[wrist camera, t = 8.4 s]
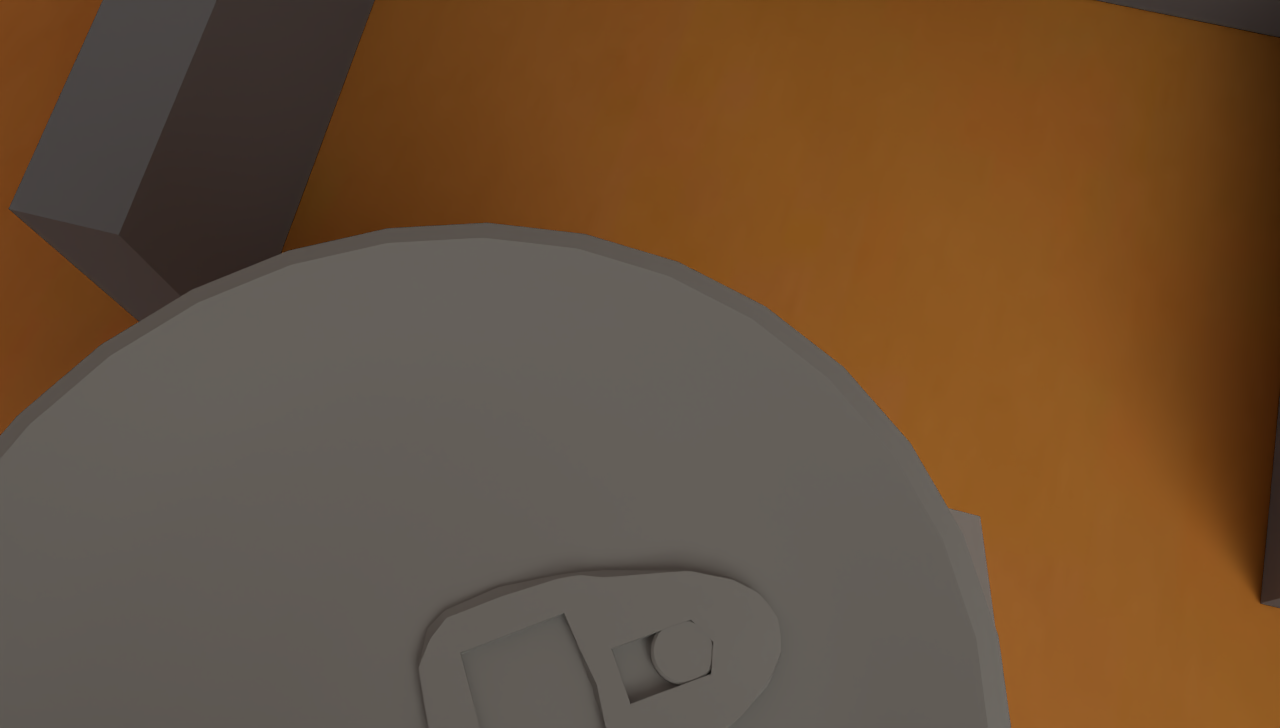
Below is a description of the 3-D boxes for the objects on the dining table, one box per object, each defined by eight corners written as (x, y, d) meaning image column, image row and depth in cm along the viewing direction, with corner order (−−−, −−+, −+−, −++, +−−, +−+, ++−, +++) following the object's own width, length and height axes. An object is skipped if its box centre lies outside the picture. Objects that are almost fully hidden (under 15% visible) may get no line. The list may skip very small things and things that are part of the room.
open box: (1403, -10, 29) (1603, -216, 23) (1361, 627, 25) (1596, 581, 19) (373, -213, 32) (305, -451, 25) (156, 336, 27) (8, 209, 21)
